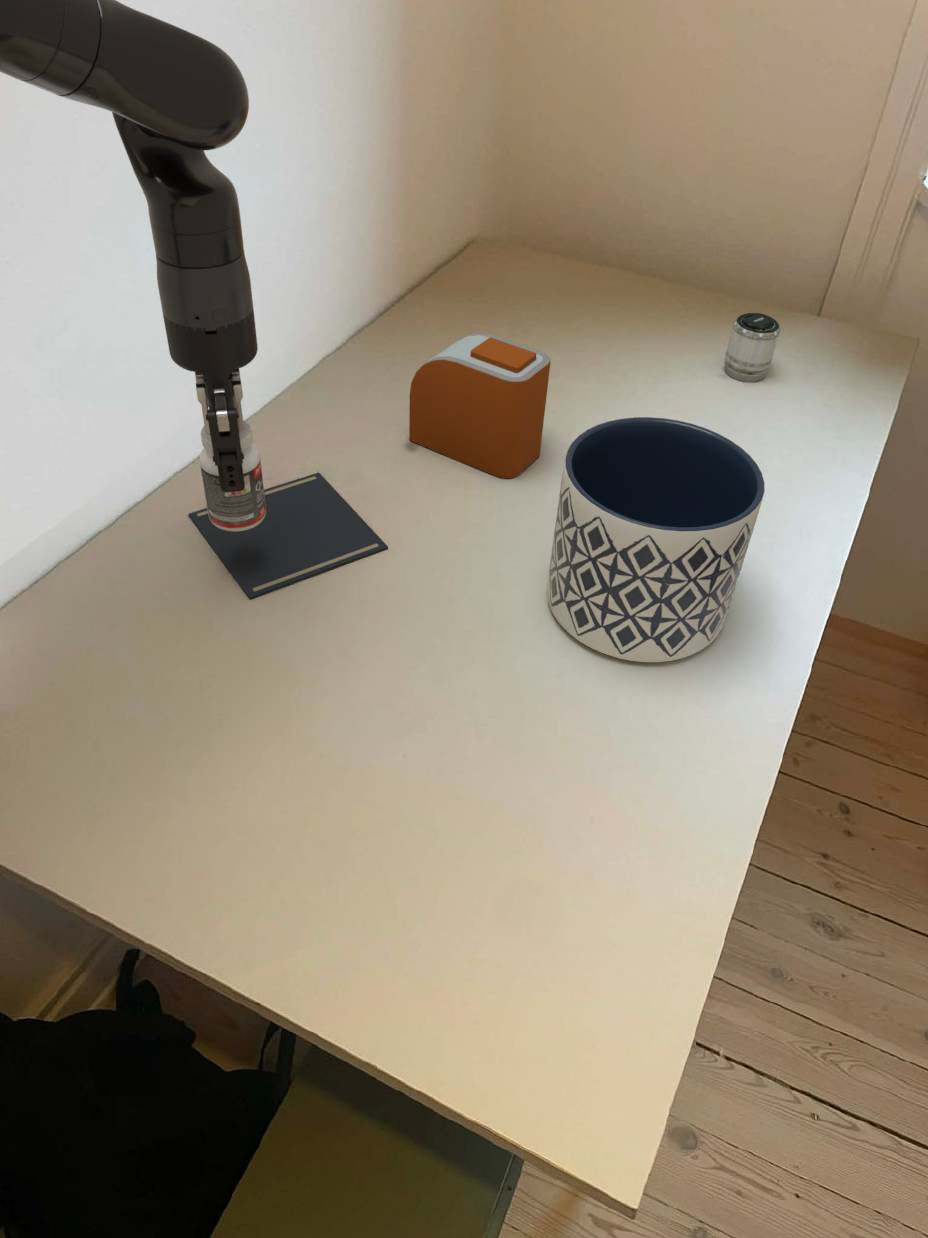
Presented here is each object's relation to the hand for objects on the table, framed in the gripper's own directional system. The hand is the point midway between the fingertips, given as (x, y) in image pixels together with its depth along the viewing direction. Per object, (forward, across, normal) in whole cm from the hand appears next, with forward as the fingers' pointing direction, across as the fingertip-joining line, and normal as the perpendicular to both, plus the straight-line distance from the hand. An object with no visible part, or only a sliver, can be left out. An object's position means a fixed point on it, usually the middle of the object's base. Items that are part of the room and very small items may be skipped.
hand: (231, 469), depth 93 cm
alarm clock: (+12, -17, +30) cm, 36 cm away
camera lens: (+12, -29, +71) cm, 78 cm away
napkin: (+12, -4, +5) cm, 13 cm away
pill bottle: (+6, 0, 0) cm, 6 cm away
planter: (+12, +14, +38) cm, 42 cm away
